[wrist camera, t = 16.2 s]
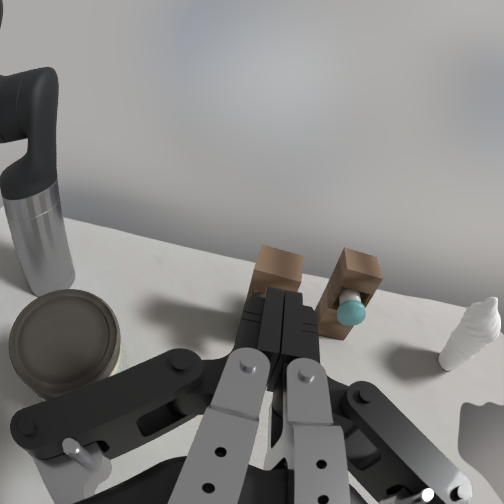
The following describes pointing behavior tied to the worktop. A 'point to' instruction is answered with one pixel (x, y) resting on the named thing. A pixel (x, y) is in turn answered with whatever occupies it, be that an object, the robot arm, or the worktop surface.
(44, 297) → the coffee can
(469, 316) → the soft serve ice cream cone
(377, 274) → the walnut box
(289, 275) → the walnut box
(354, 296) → the teal button
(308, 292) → the worktop surface
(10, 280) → the worktop surface
